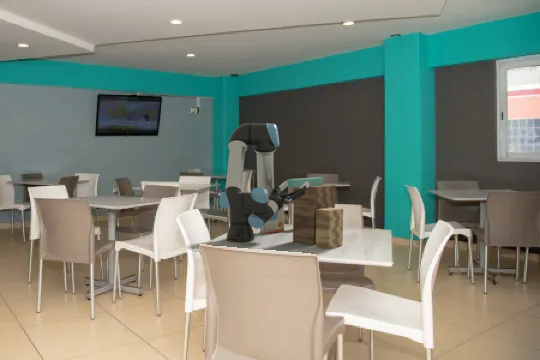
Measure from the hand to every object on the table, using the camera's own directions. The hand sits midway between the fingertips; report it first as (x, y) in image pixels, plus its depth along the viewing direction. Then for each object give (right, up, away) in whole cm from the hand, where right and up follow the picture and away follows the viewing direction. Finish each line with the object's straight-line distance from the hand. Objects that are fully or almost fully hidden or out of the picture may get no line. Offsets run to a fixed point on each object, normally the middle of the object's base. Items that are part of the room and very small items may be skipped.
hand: (297, 182), depth 248 cm
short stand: (+16, -32, -1) cm, 36 cm away
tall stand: (+9, -31, +13) cm, 35 cm away
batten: (+5, -2, +6) cm, 8 cm away
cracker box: (-13, -30, +40) cm, 51 cm away
